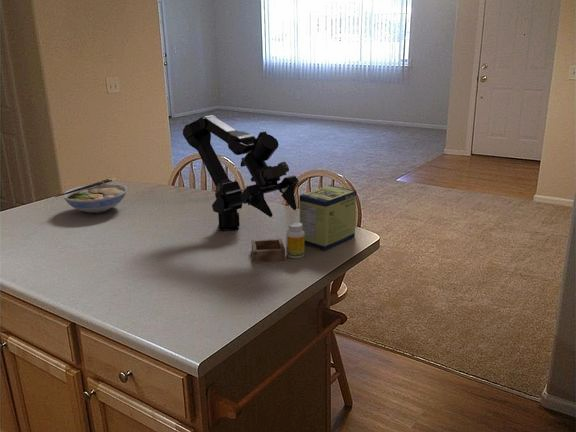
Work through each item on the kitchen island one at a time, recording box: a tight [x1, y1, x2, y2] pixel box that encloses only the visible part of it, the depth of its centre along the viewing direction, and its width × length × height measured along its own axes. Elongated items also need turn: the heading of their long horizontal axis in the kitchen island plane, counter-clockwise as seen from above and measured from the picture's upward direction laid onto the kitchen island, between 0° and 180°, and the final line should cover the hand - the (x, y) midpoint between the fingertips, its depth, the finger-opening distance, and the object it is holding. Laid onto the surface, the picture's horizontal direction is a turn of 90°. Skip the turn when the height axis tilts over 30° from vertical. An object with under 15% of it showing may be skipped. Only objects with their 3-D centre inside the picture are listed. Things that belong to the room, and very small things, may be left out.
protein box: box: [298, 184, 357, 251], centre depth 163 cm, size 10×16×16 cm
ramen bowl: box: [54, 178, 128, 214], centre depth 196 cm, size 25×23×8 cm
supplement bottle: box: [285, 221, 306, 259], centre depth 153 cm, size 5×5×10 cm
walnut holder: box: [250, 238, 286, 264], centre depth 154 cm, size 9×9×3 cm
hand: (283, 212), depth 154 cm, fingers open, 9 cm apart
